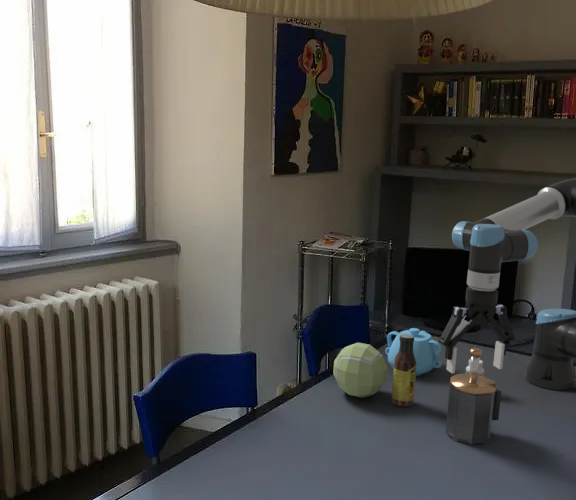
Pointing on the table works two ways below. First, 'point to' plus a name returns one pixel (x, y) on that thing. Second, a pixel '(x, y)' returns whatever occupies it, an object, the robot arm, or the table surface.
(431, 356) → the decorative pot
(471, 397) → the press body
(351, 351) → the decorative sphere
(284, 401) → the table surface
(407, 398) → the sauce bottle
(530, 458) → the table surface
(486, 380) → the plunger
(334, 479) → the table surface
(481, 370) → the supplement bottle
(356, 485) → the table surface
